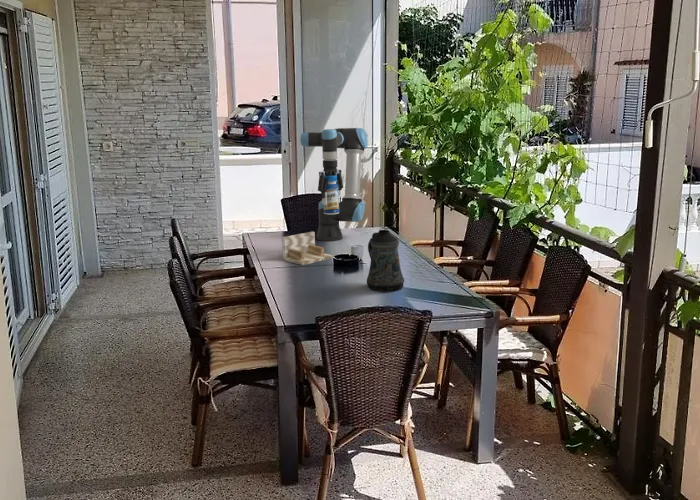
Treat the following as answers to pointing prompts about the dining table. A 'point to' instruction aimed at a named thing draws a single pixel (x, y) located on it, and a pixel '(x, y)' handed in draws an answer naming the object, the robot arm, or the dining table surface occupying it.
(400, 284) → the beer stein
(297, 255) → the wooden display stand
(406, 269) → the dining table surface
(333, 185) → the beverage bottle
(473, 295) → the dining table surface
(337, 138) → the robot arm
